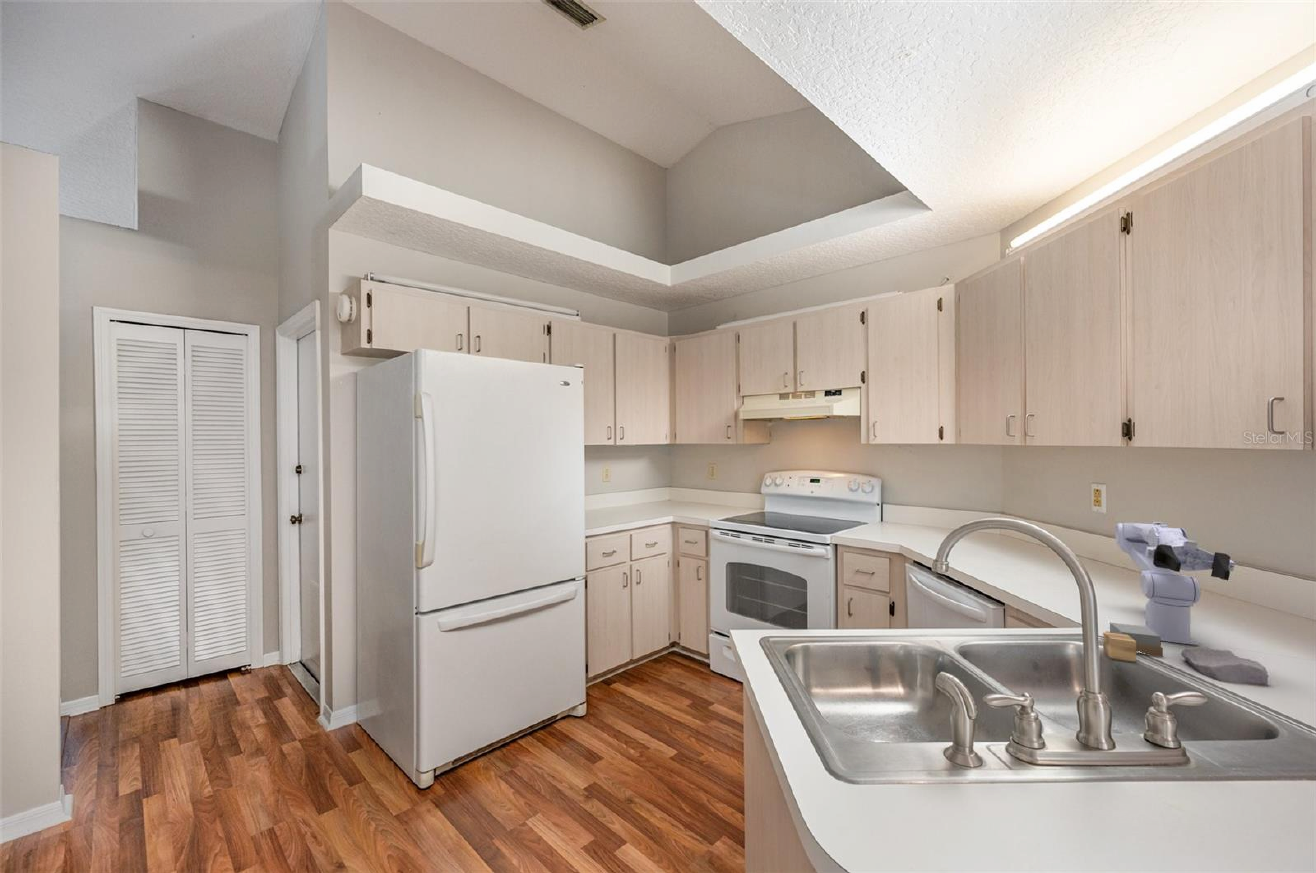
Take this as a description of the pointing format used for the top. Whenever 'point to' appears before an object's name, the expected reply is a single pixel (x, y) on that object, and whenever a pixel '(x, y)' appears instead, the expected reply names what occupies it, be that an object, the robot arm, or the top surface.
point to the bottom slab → (1149, 650)
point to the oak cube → (1119, 646)
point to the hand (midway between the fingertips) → (1202, 571)
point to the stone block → (1225, 666)
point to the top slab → (1137, 634)
